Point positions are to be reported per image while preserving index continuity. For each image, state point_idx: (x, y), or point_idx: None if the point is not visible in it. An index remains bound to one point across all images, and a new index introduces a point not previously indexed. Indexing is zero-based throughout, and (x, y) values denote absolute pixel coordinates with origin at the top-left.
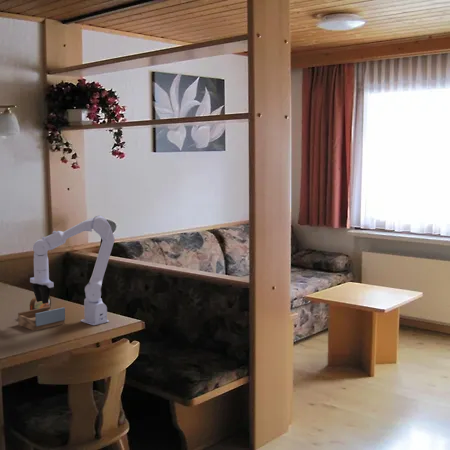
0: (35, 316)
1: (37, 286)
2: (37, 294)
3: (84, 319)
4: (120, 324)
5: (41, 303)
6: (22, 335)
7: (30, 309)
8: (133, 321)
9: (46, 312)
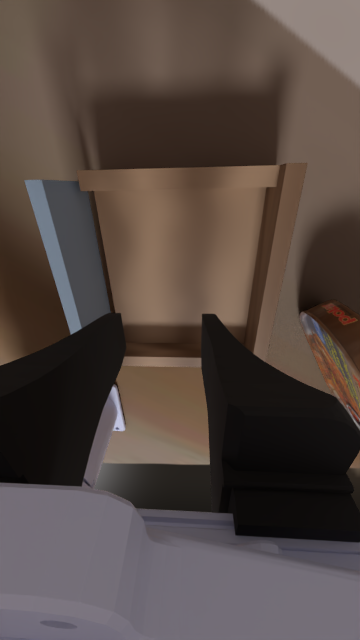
0: (55, 180)
1: (218, 453)
2: (209, 357)
3: (112, 397)
4: None
5: (350, 387)
6: (43, 44)
7: (340, 306)
8: None
9: (55, 273)
